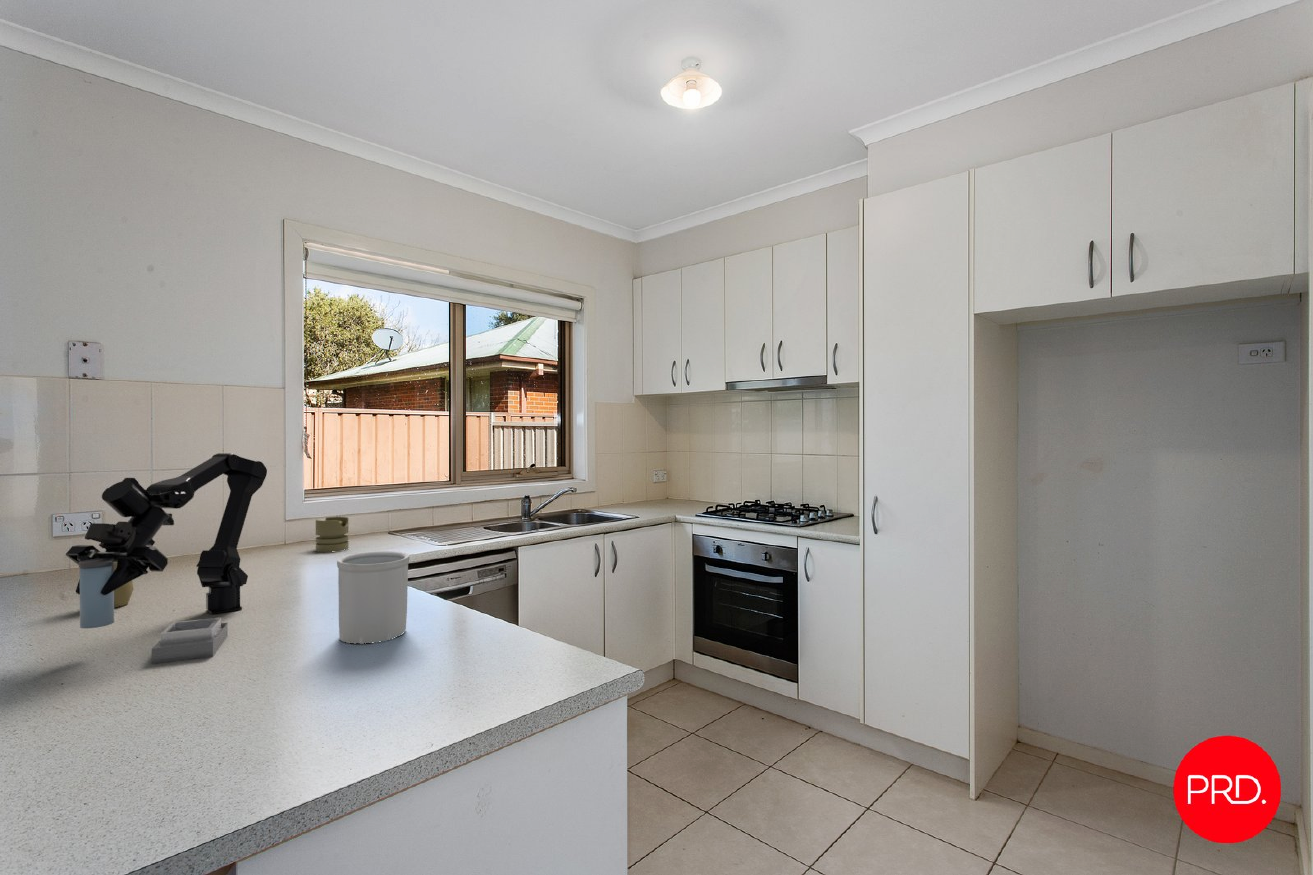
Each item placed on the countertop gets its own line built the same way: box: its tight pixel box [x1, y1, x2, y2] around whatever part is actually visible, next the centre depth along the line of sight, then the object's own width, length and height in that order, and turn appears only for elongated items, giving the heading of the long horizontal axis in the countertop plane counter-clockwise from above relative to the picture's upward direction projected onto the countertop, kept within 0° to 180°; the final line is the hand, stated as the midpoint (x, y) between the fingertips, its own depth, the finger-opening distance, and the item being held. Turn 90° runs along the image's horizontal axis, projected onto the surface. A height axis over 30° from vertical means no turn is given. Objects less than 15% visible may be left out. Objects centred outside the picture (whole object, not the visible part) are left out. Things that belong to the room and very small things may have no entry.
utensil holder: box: [336, 550, 410, 645], centre depth 141 cm, size 15×15×18 cm
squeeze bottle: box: [103, 550, 134, 608], centre depth 165 cm, size 8×8×18 cm
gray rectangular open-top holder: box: [151, 617, 229, 665], centre depth 132 cm, size 14×10×5 cm
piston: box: [315, 516, 350, 553], centre depth 244 cm, size 11×12×11 cm
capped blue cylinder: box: [78, 558, 115, 629], centre depth 128 cm, size 5×5×13 cm
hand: (90, 593), depth 127 cm, fingers closed on capped blue cylinder, 5 cm apart
